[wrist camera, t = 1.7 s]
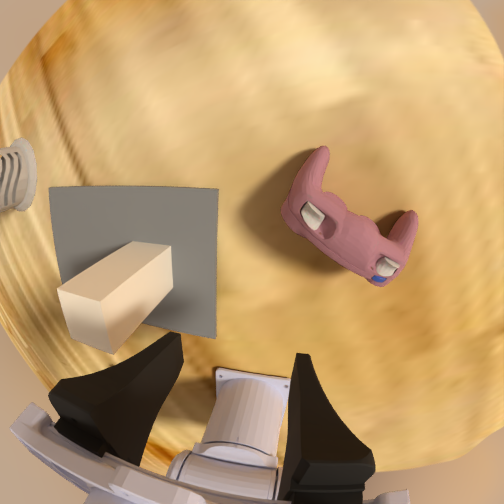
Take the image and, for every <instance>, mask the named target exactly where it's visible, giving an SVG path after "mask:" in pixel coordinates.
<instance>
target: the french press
mask: <svg viewBox="0 0 504 504" xmlns="http://www.w3.org/2000/svg"><path fill="white" fill-rule="evenodd" d="M1 154H2V157H1V158H0V212H3V211H6V210H8V209H11V208H15V209H16V210H17V211H25V210H26V209H27V208H29V207H30V206H31V203H32V201H33V198H34V196H35V191H36V183H37V164H36V160H35V155H34V151H33V149H32V147H31V145H30V143H29V142H28V140H26V139H24V138H22V137H21V138H19V139H16V140H15V141H14V142H13V143H12V145H11V146H10V147H6V148H0V155H1Z"/></svg>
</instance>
